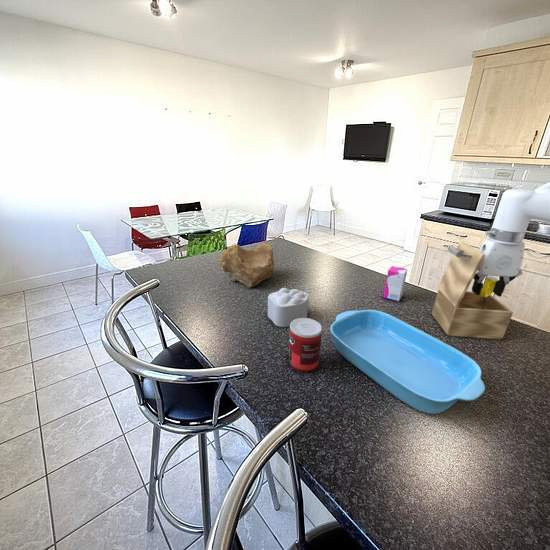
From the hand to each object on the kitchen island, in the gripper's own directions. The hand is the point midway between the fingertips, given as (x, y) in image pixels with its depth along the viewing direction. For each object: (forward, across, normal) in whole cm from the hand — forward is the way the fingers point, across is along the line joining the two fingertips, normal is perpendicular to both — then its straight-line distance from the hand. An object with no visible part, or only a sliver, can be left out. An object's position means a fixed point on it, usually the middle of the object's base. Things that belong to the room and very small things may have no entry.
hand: (486, 293), depth 88 cm
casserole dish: (+12, -31, -23) cm, 40 cm away
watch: (+1, 0, 0) cm, 1 cm away
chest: (+12, -3, 0) cm, 12 cm away
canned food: (+12, -54, -24) cm, 60 cm away
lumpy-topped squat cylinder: (+12, -59, -2) cm, 60 cm away
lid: (-6, -9, 0) cm, 11 cm away
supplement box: (+12, -21, +17) cm, 30 cm away
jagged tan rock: (+12, -76, +23) cm, 80 cm away
